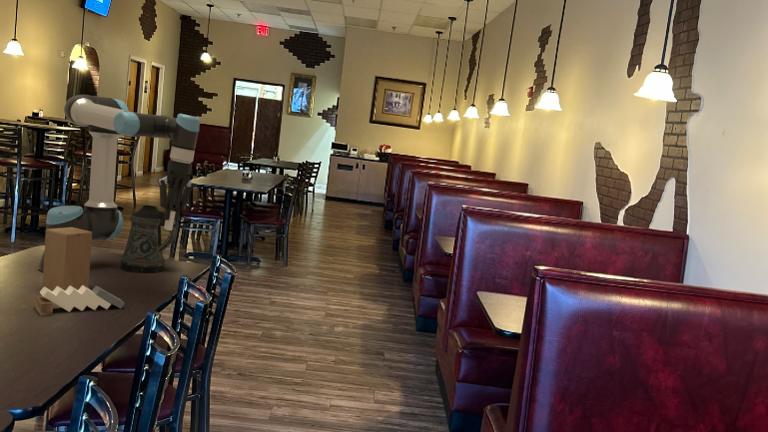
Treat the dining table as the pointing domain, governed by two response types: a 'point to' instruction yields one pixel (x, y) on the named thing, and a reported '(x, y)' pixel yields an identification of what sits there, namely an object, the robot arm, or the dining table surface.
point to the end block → (43, 306)
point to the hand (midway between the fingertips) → (168, 229)
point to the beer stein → (146, 241)
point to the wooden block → (67, 258)
